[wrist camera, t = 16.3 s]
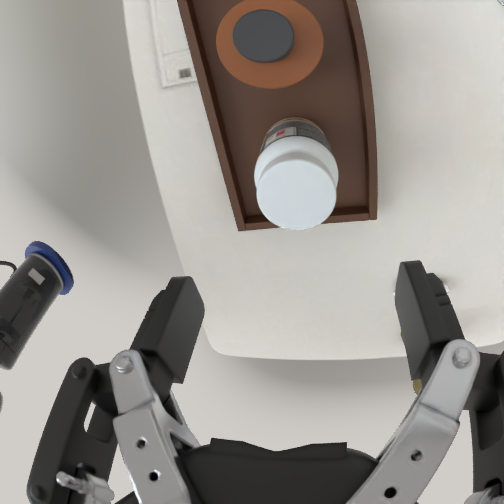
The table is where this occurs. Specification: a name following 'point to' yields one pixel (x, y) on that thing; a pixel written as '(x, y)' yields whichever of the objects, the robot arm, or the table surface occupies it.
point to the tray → (291, 108)
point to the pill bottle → (296, 175)
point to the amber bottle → (270, 42)
